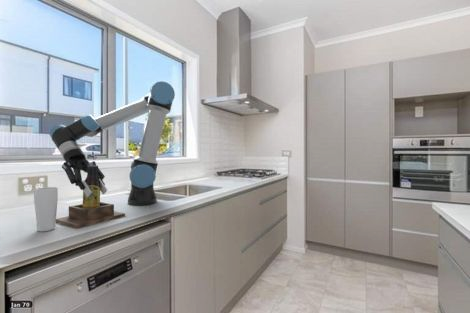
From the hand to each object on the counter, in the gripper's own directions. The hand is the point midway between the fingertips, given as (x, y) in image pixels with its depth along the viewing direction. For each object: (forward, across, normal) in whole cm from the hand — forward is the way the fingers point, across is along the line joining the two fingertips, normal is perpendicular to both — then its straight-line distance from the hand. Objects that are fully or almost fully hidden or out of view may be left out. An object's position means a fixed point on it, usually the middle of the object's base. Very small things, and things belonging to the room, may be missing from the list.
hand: (97, 193), depth 99 cm
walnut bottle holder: (+5, 0, -10) cm, 12 cm away
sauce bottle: (+4, 0, -9) cm, 9 cm away
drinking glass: (+4, +16, -12) cm, 20 cm away
